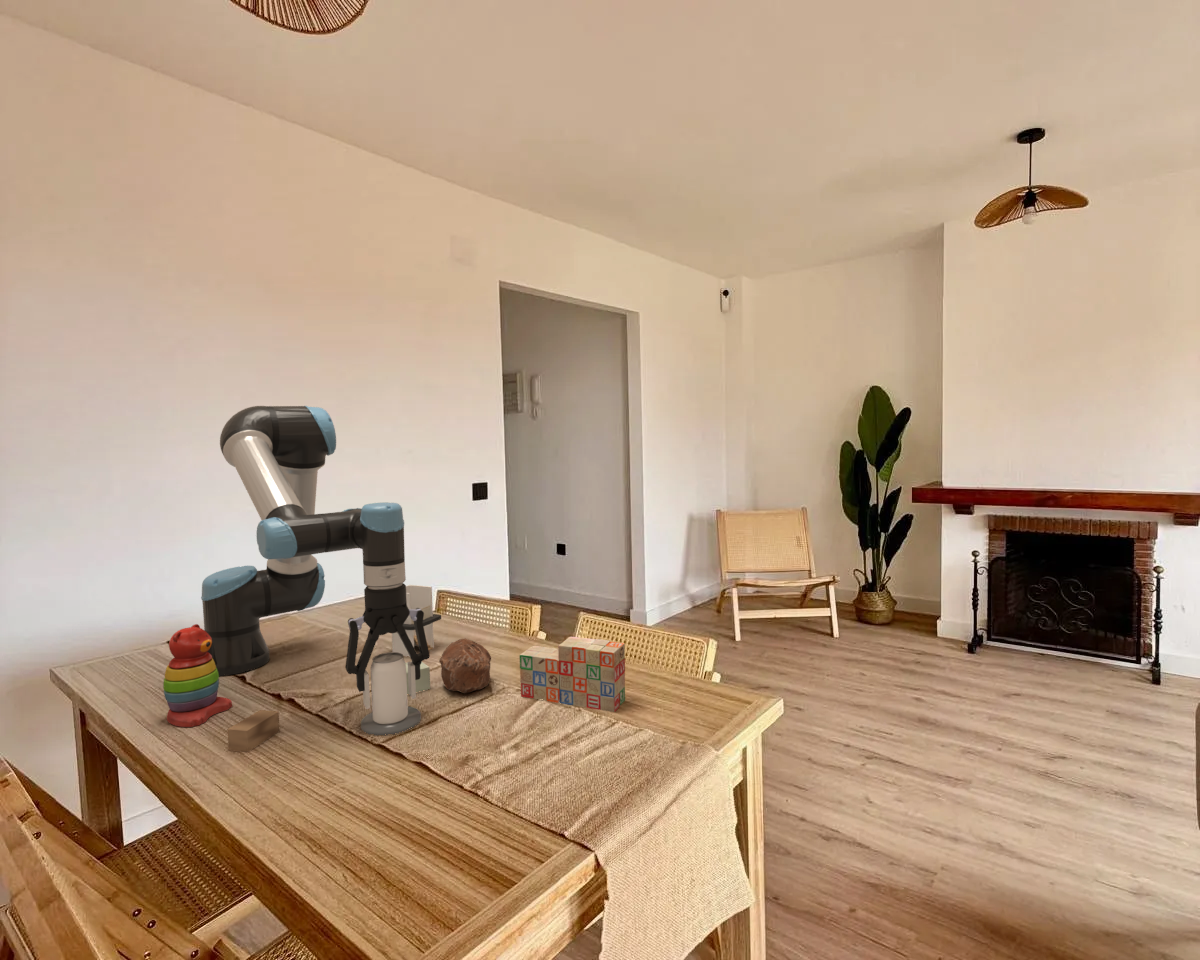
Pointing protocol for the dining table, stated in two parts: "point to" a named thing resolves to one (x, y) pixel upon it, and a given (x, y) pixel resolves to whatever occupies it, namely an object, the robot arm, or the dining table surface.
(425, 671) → the sage block
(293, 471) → the robot arm
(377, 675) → the can
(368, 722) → the slate coaster
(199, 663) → the stacking bear
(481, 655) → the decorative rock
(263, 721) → the walnut block
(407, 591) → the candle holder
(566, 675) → the stack of blocks
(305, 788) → the dining table surface
